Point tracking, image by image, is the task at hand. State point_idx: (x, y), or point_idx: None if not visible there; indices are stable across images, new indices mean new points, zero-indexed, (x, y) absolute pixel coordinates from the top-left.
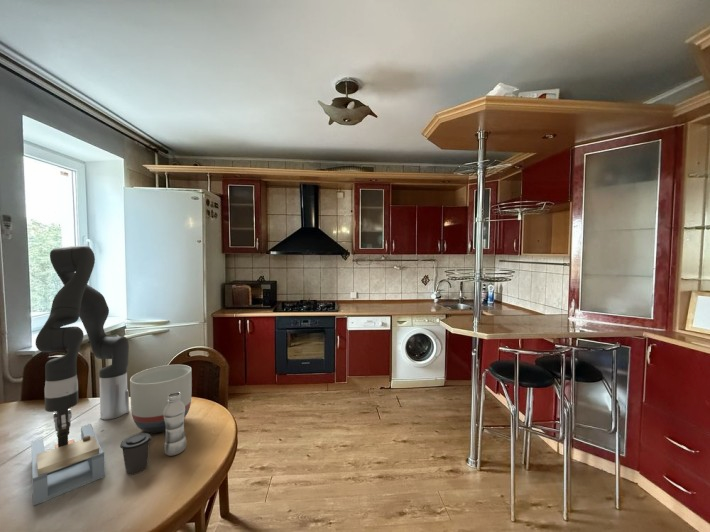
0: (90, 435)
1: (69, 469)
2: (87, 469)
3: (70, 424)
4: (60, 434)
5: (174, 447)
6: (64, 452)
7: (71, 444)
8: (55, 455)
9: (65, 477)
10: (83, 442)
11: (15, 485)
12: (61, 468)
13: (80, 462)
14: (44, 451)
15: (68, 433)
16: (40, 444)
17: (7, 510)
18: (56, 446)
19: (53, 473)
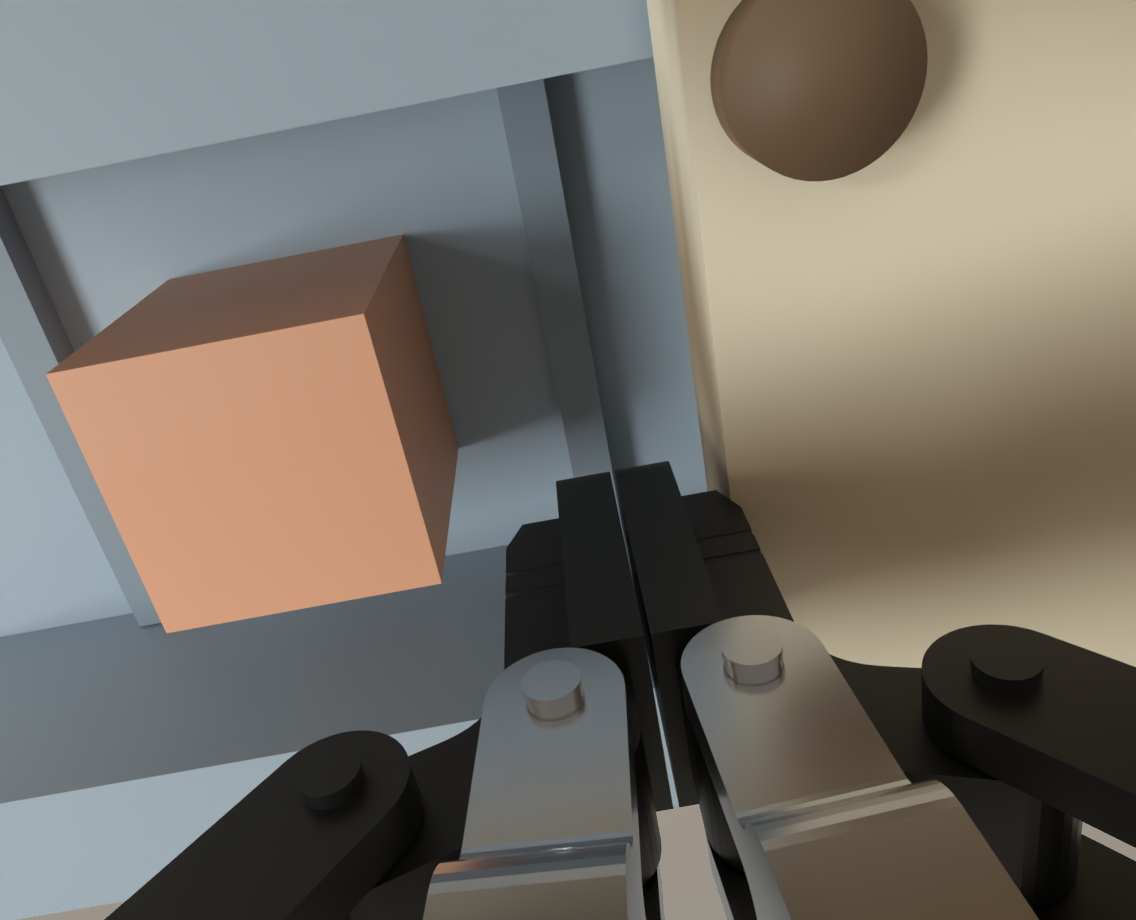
0: (84, 24)
1: (675, 281)
2: None
3: (999, 861)
4: (1077, 869)
5: None
6: (1121, 483)
7: (794, 404)
8: (1107, 610)
9: None
10: (915, 140)
11: None
12: (597, 384)
13: (560, 154)
14: (399, 734)
15: (1106, 670)
16: (66, 826)
17: None
18: (251, 604)
19: (643, 451)
